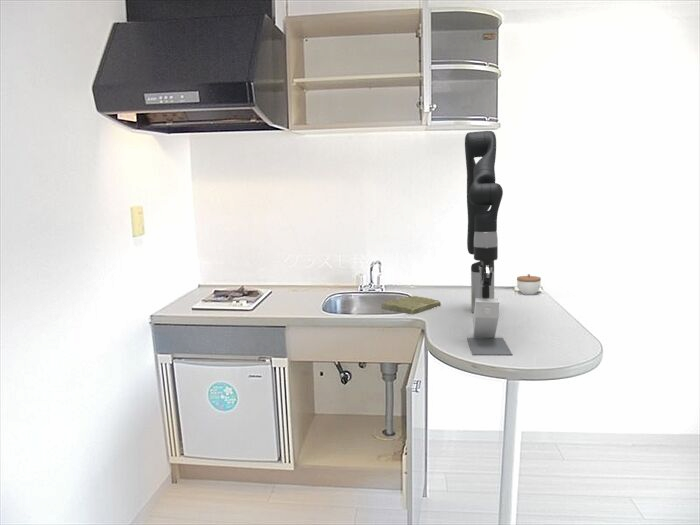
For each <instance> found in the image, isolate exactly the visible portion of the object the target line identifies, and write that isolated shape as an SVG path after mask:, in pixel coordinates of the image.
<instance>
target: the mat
mask: <svg viewBox="0 0 700 525" xmlns="http://www.w3.org/2000/svg"><path fill="white" fill-rule="evenodd" d="M466 340H467V343H468V346H469V349H470V351H471V355H472V356H513V353H512V351H511V350H510V348H509V346H508V344H507V343H506V340H505V339H504V337H494V338H488V337H466Z"/></svg>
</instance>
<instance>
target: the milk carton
mask: <svg viewBox="0 0 700 525" xmlns="http://www.w3.org/2000/svg"><path fill="white" fill-rule="evenodd" d="M472 317H473V318H472V319H473V320H472V322H473V326H472V328H473V333H472V334H473V335H472V336H473V338H496V333H497V328H498V323H499V322H498V321H499V317H500V301H499V299H498V298H494V299H488V298H475V307H474V313H473V316H472Z"/></svg>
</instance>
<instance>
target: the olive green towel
mask: <svg viewBox="0 0 700 525" xmlns="http://www.w3.org/2000/svg"><path fill="white" fill-rule="evenodd" d="M440 305H442V304H441V301H440V300H439V299H433V298H429V297H423V296H417V295H413V296H412V295H411V296H407V297H404V298H403V297H400V298H398V299H394V298H393V299H390V300H388V301H385V302H382V303H381V310H387V311H389V312H395V313H400V314H407V315H415V314H419V313H422V312H425V311H430V310H432V308H433V309H435V308H434V307H436V308H438V307H437V306H439V307H441V306H440Z"/></svg>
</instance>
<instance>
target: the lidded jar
mask: <svg viewBox="0 0 700 525" xmlns="http://www.w3.org/2000/svg"><path fill="white" fill-rule="evenodd" d="M516 280H517V282H516V283H517V288H518V291H519V292H521V294H522V295H526V296H533V295H536V293H538V291H539V290H540V288H541V277H540V276H536V275H531V274H529V273H528V274H527V275H521V276H517V277H516Z"/></svg>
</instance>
